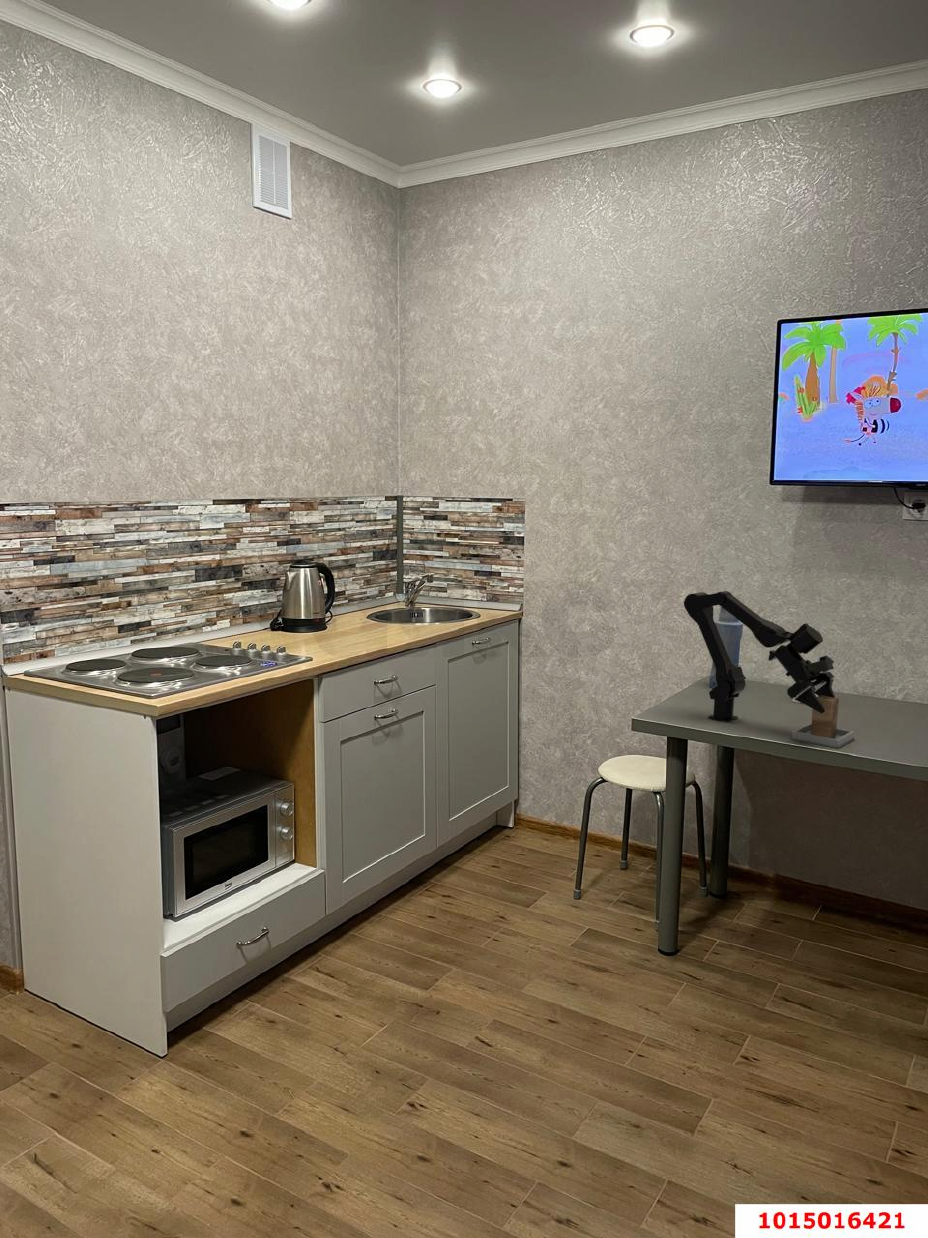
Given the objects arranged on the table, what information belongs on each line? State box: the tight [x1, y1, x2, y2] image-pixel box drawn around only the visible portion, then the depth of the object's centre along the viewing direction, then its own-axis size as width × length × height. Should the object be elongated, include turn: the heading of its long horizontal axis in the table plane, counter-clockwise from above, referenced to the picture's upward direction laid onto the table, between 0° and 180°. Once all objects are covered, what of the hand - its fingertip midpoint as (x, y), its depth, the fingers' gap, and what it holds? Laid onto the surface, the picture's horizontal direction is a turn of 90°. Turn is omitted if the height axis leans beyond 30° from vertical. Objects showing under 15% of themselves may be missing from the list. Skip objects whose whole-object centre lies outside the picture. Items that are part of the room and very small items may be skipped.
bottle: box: [708, 605, 744, 689], centre depth 316 cm, size 10×10×30 cm
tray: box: [791, 722, 856, 750], centre depth 255 cm, size 13×13×2 cm
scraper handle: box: [811, 695, 840, 739], centre depth 254 cm, size 5×5×11 cm
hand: (830, 709), depth 253 cm, fingers open, 9 cm apart
